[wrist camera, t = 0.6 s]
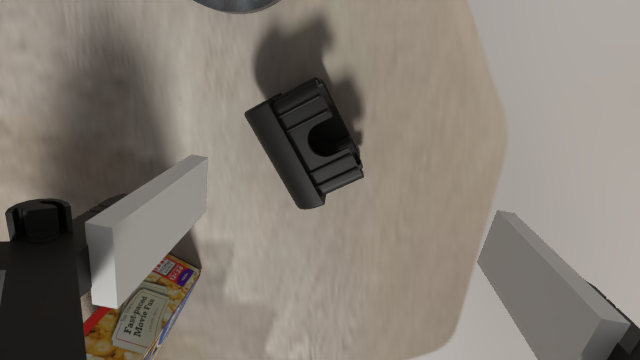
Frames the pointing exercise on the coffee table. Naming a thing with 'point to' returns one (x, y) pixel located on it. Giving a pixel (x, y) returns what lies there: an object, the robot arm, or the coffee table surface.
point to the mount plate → (238, 5)
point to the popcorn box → (141, 315)
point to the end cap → (306, 142)
